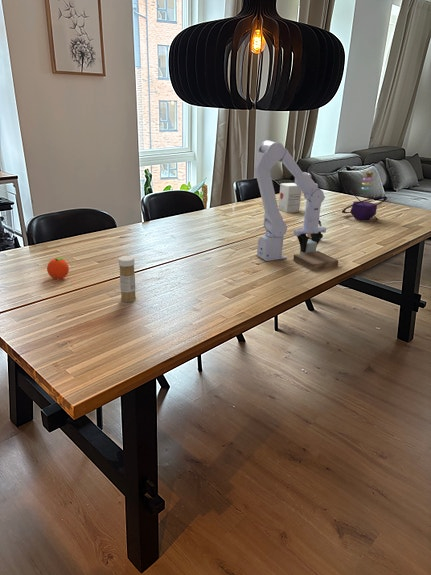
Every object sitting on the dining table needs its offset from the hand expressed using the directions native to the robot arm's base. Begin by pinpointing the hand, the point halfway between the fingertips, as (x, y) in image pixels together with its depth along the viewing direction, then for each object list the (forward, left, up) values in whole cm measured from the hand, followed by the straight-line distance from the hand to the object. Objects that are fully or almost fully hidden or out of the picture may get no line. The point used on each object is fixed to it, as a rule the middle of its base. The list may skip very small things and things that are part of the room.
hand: (307, 251), depth 181 cm
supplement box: (+39, +69, -2) cm, 79 cm away
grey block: (0, 0, -2) cm, 2 cm away
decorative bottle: (+65, +38, -2) cm, 75 cm away
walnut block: (-4, -10, -2) cm, 11 cm away
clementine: (-95, +11, -2) cm, 96 cm away
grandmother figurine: (+17, +19, -2) cm, 26 cm away
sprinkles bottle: (-79, -15, -2) cm, 80 cm away
